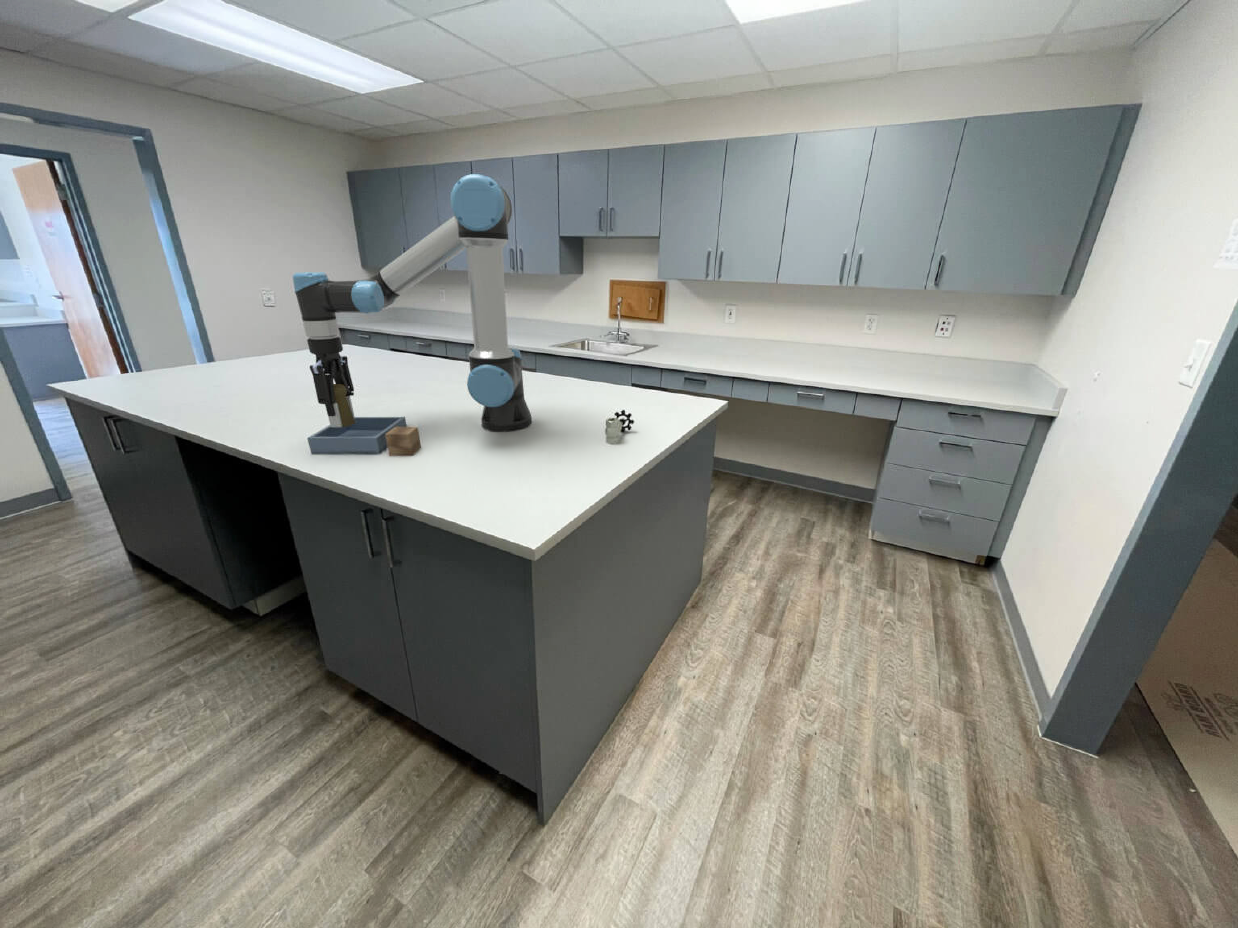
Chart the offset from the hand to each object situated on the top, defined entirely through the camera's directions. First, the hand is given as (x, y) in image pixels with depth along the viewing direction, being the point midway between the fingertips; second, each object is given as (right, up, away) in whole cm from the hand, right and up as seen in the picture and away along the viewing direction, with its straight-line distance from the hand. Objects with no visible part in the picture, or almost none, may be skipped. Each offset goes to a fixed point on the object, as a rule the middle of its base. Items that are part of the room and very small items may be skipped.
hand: (343, 422), depth 133 cm
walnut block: (+19, -8, -4) cm, 21 cm away
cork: (0, 0, 0) cm, 1 cm away
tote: (+4, -5, +2) cm, 7 cm away
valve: (+75, -4, +5) cm, 76 cm away
